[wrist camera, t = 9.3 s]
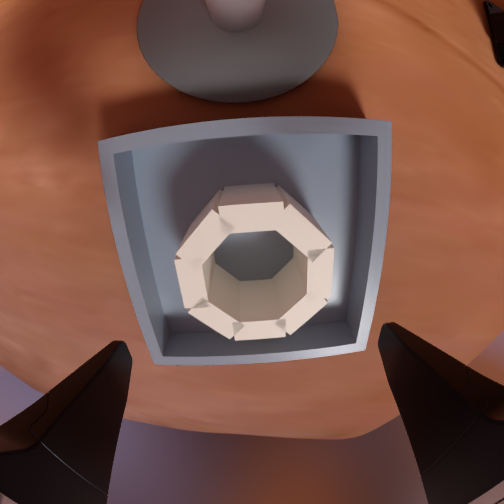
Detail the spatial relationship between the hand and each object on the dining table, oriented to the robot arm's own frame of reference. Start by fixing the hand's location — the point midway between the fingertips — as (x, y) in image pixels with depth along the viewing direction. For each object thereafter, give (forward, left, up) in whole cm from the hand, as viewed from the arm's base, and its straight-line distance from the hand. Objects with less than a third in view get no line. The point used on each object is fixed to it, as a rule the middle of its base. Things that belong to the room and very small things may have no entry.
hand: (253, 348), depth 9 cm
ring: (0, 0, -8) cm, 8 cm away
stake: (0, -14, -9) cm, 16 cm away
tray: (0, 0, -9) cm, 9 cm away
